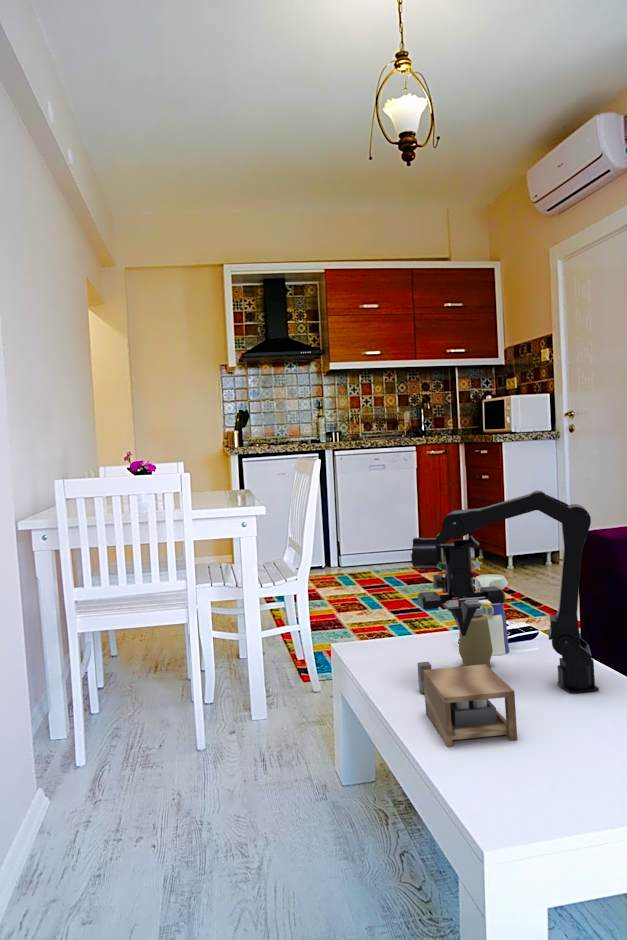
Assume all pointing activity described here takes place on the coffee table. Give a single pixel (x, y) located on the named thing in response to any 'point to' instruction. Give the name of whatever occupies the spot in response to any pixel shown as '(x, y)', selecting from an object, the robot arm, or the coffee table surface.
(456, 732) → the shallow wooden box
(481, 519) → the robot arm
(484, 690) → the wooden stand
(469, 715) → the tray
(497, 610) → the spray bottle
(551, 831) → the coffee table surface
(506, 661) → the coffee table surface
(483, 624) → the squeeze bottle
